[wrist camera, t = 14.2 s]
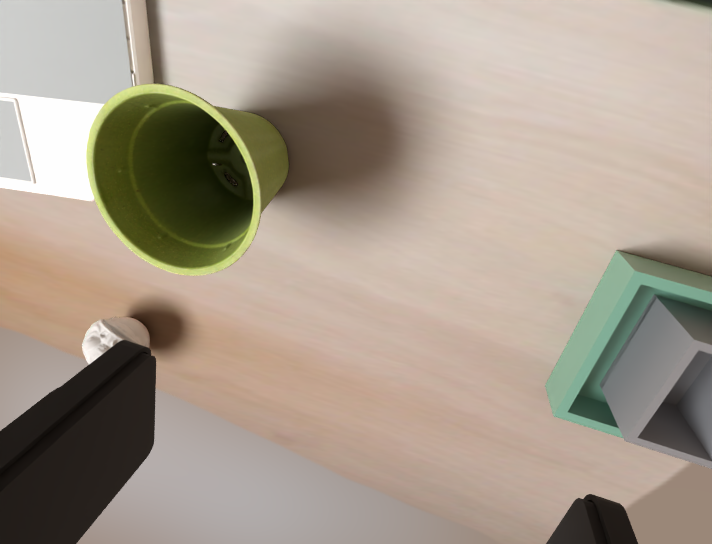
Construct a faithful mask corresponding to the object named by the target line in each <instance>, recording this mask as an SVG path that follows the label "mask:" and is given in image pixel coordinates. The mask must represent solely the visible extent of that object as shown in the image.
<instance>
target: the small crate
mask: <svg viewBox="0 0 712 544" xmlns="http://www.w3.org/2000/svg"><path fill="white" fill-rule="evenodd" d="M599 385H600V387H601V389H602V391H603V394H604V396H605V398H606V400H607V403H608V405H609V407H610V409H611V411H612V414H613V416H614V418H615V420H616V423H617V425H618V427H619V429H620V431H621V434H622V436H623V438H624V440H625V441H626V442H630V443H633V444H636V445H639V446H642V447H645V448H648V449H651V450H654V451H658V452H661V453H664V454H667V455H670V456H673V457H676V458H679V459H682V460H686V461H689V462H692V463H695V464H698V465H701V466H704V467H707V468H711V469H712V311H710V310H707V309H703V308H700V307H696V306H693V305H689V304H686V303H683V302H679V301H676V300H672V299H669V298H665V297H662V296H658V295H655V294H654V295H653V297H652V298H651V300H650V302H649V303H648V305H647V306H646V308H645V310H644V311H643V313H642V315H641V316H640V318H639V320H638V321H637V323H636V325H635V326H634V328H633V330H632V331H631V333H630V335H629V336H628V338H627V340H626V341H625V343H624V345H623V346H622V348H621V350H620V351H619V353H618V355H617V356H616V358H615V359H614V361H613V363H612V364H611V366H610V368H609V369H608V371H607V373H606V374H605V376H604V378H603V379H602V381H601V383H600V384H599Z"/></svg>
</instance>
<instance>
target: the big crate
mask: <svg viewBox="0 0 712 544" xmlns="http://www.w3.org/2000/svg"><path fill="white" fill-rule="evenodd" d="M654 294H655V295H658V296H662V297H665V298H669V299H672V300H676V301H679V302H683V303H686V304H689V305H693V306H696V307H700V308H703V309H707V310H710V311H712V276H708V275H704V274H701V273H697V272H693V271H690V270H686V269H683V268H679V267H675V266H672V265H668V264H665V263H661V262H657V261H654V260H650V259H646V258H643V257H639V256H636V255H632V254H628V253H625V252H621V251H618V250H616V252H615V254H614V256H613V258H612V260H611V262H610V264H609V266H608V267H607V269H606V271H605V273H604V275H603V277H602V279H601V281H600V283H599V285H598V286H597V288H596V290H595V292H594V294H593V296H592V298H591V300H590V302H589V303H588V305H587V307H586V309H585V311H584V313H583V315H582V317H581V319H580V321H579V322H578V324H577V326H576V328H575V330H574V332H573V334H572V336H571V338H570V340H569V341H568V343H567V345H566V347H565V349H564V351H563V353H562V355H561V357H560V359H559V360H558V362H557V364H556V366H555V368H554V370H553V372H552V374H551V376H550V377H549V379H548V381H547V383H546V385H545V387H546V391H547V394H548V398H549V402H550V405H551V409H552V413H553V416H554V417H558V418H561V419H564V420H567V421H570V422H573V423H576V424H580V425H583V426H586V427H589V428H592V429H595V430H599V431H602V432H605V433H608V434H611V435H614V436H617V437H621V438H623V436H622V434H621V431H620V429H619V427H618V425H617V423H616V420H615V418H614V416H613V414H612V411H611V409H610V407H609V405H608V403H607V400H606V398H605V396H604V394H603V391H602V389H601V387H600V385H599V384H600V383H601V381H602V379H603V378H604V376H605V374H606V373H607V371H608V369H609V368H610V366H611V364H612V363H613V361H614V359H615V358H616V356H617V355H618V353H619V351H620V350H621V348H622V346H623V345H624V343H625V341H626V340H627V338H628V336H629V335H630V333H631V331H632V330H633V328H634V326H635V325H636V323H637V321H638V320H639V318H640V316H641V315H642V313H643V311H644V310H645V308H646V306H647V305H648V303H649V302H650V300H651V298H652V297H653V295H654Z"/></svg>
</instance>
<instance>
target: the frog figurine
mask: <svg viewBox="0 0 712 544" xmlns="http://www.w3.org/2000/svg"><path fill="white" fill-rule="evenodd" d="M121 340H127V341H130V342H133V343H136V344H139V345H142V346H145V347H148V348H149V347H150V346H149V345H150V336H149V333H148V330H147V328H146V327H145V326H144V325H143V324H142V323H141V322H140V321H138V320H136V319H133V318H130V317H114V318H110V319H101V320H98V321H96V322H94V323H93V324H92V326H91V327H90V329H89V330H88V331H87V333H86V335H85V338H84V341H83V345H82V347H83V353H84V355H85V357H86V361H87V362H88V364H91V363H92V362H93V361H94V360H96V359H97V358H98V357H100V356H101V355H102V354H103V353H105V352H106V351H107V350H109V349H110V348H111V347H112V346H114V345H115V344H116V343H118V342H119V341H121Z"/></svg>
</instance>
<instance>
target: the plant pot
mask: <svg viewBox="0 0 712 544" xmlns="http://www.w3.org/2000/svg"><path fill="white" fill-rule="evenodd" d="M225 130H226V131H227V132H228V135H227V136H226V138H225V139H224V141H223V142H220V141H219V140H220V138H221V135H222V134H223V132H224V131H225ZM218 141H219V142H218ZM243 158H244V160H245V162H244V161H243ZM213 163H215V164H222V165H213ZM86 165H87V172H88V179H89V183H90V188H91V191H92V194H93V196H94V199H95V201H96V203H97V205H98V208H99V210H100V212H101V214H102V216H103V218H104V219H105V221H106V222H107V224H108V225H109V227H110V228H111V229H112V231H113V232H114V233H115V234H116V235H117V236H118V238H119V239H120V240H121V241H122V242H123V243H124V244H125V245H126V246H127V247H128V248H129V249H130V250H131V251H132V252H134V253H135V254H136V255H138V256H139V257H140V258H141V259H143V260H145V261H146V262H148V263H150V264H152V265H154V266H156V267H158V268H161V269H163V270H166V271H168V272H172V273H176V274H181V275H191V276H197V275H208V274H212V273H215V272H218V271H220V270H223V269H225V268H227V267H229V266H230V265H232V264H233V263H235V262H236V261H237V260H238V259H239V258H240V257H241V256H242V255H243V254H244V253H245V252H246V250H247V249H248V248H249V246H250V245H251V243H252V241H253V239H254V237H255V235H256V232H257V229H258V226H259V222H260V217H261V213H262V212H263V210H264V209H265V208H266V206H267V205H268V204H269V203H270V201H271V200H272V199H273V197H274V196H275V195H276V193H277V192H278V191H279V189H280V188H281V187H282V185H283V184H284V182H285V180H286V177H287V174H288V169H289V162H288V153H287V148H286V144H285V142H284V140H283V138H282V136H281V135H280V133H279V132H278V130H277V129H276V128H275V127H274V126H273V125H272V124H271V123H270V122H269V121H267V120H266V119H264V118H263V117H261V116H258V115H256V114H253V113H249V112H244V111H239V110H233V109H227V108H222V107H216V106H212V105H211V104H210V103H208V102H207V101H205V100H204V99H202V98H201V97H199V96H197V95H195V94H193V93H191V92H189V91H186V90H184V89H181V88H178V87H174V86H171V85H165V84H142V85H137V86H133V87H130V88H127V89H125V90H123V91H121V92H119V93H117V94H116V95H114V96H113V97H112V98H110V99H109V100H108V101H107V102H106V103H105V104H104V105H103V106H102V108H101V109H100V110H99V112H98V114H97V116H96V117H95V119H94V121H93V123H92V126H91V128H90V132H89V138H88V142H87V150H86ZM224 173H228V174H229V175H230V176H231V177H232V178H233V179H234V180H235V181H236V182H237V183H238V185H237V186H234V185H232V184H231V183H230V182H229V181H228V180H227V179H226V177H225V175H224Z"/></svg>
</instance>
